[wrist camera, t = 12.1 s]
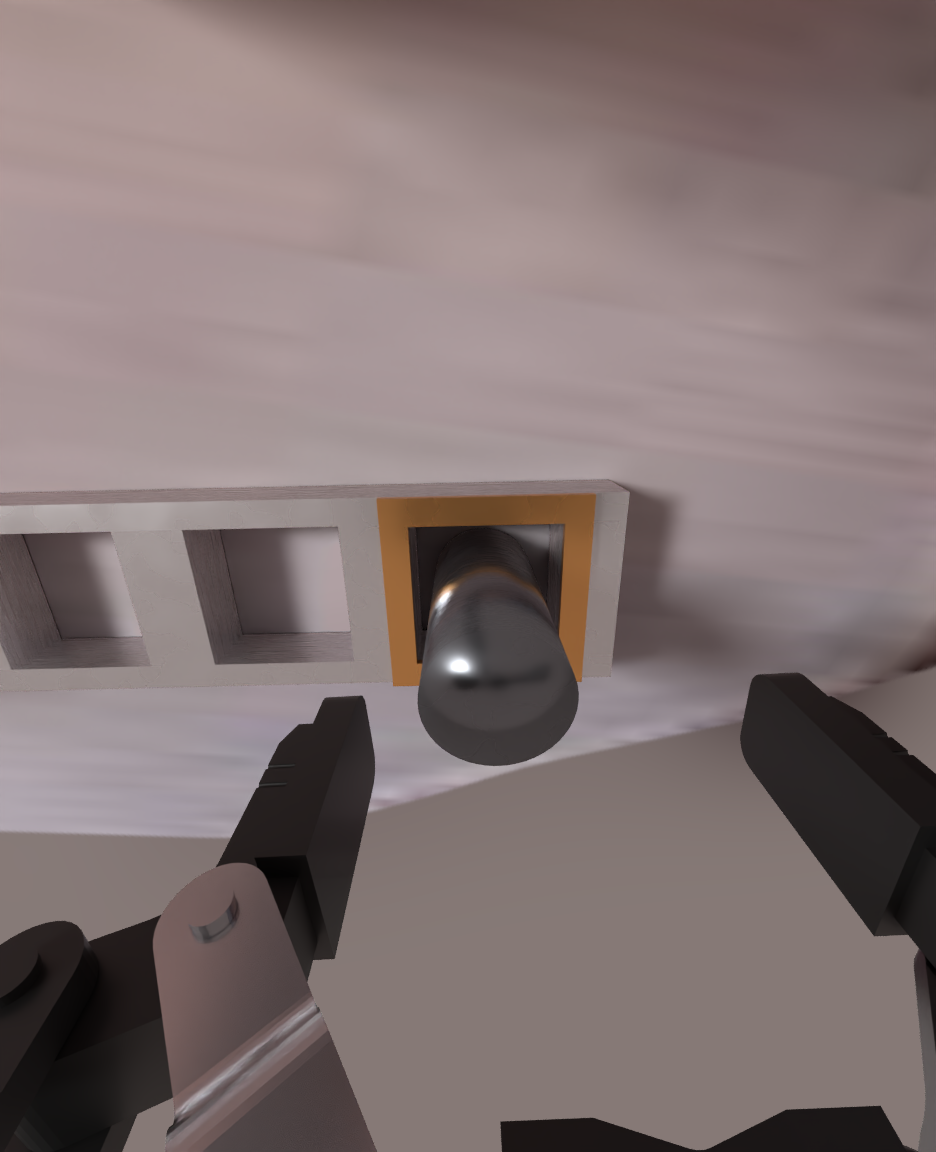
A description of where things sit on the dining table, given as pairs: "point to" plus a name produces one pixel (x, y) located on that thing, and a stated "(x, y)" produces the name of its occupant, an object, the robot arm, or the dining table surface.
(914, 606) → the dining table surface
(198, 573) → the white compartment tray
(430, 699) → the steel pin
